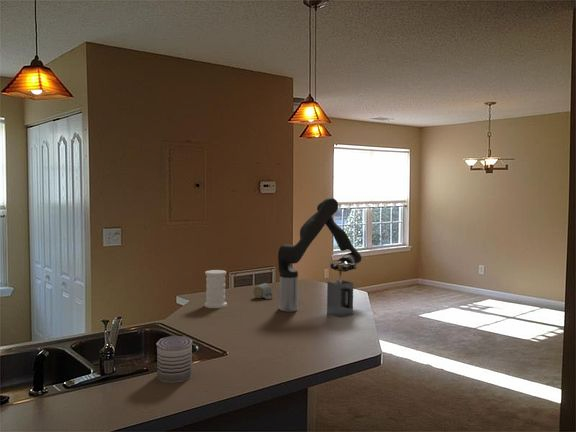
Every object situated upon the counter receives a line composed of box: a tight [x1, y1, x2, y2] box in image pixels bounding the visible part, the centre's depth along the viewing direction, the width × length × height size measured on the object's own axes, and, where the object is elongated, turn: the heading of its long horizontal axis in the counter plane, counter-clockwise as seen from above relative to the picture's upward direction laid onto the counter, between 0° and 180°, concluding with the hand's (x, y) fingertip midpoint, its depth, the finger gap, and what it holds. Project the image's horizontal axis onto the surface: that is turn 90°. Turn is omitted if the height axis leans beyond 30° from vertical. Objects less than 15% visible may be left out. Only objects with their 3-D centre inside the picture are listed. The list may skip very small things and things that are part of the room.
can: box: [155, 335, 194, 384], centre depth 168 cm, size 11×11×12 cm
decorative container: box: [204, 269, 228, 309], centre depth 268 cm, size 12×12×18 cm
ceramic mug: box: [253, 282, 274, 300], centre depth 287 cm, size 11×8×8 cm
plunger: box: [335, 264, 345, 283], centre depth 252 cm, size 7×7×20 cm
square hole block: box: [326, 279, 354, 318], centre depth 251 cm, size 12×9×16 cm
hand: (339, 268), depth 249 cm, fingers closed on plunger, 4 cm apart
